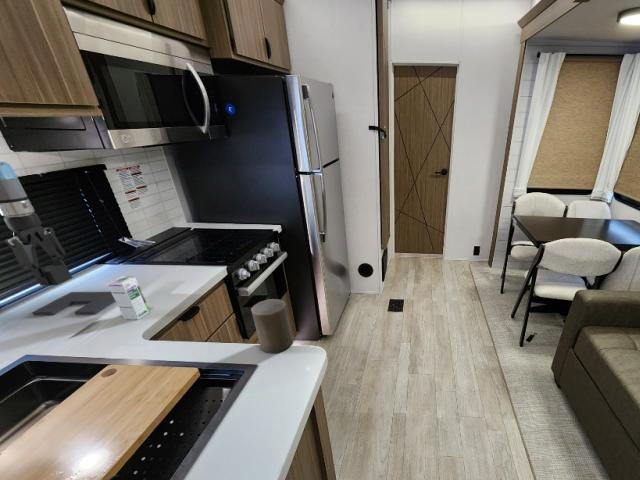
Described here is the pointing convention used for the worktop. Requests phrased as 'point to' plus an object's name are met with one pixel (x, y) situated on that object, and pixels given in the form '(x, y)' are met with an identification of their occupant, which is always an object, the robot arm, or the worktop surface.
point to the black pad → (57, 274)
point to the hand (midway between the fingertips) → (56, 280)
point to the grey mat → (92, 299)
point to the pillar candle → (272, 325)
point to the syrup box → (129, 297)
